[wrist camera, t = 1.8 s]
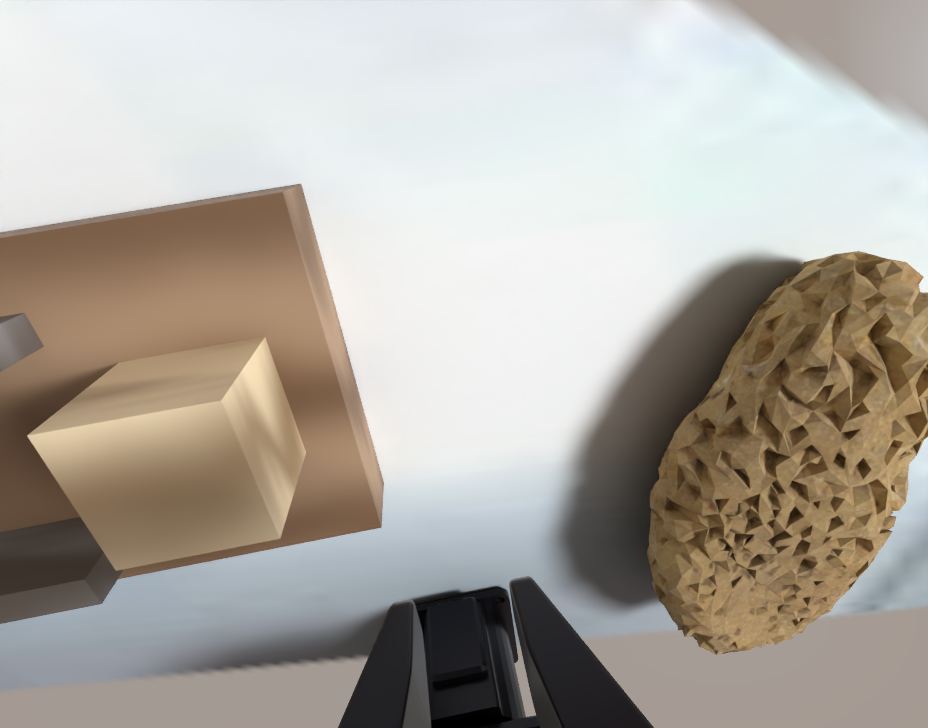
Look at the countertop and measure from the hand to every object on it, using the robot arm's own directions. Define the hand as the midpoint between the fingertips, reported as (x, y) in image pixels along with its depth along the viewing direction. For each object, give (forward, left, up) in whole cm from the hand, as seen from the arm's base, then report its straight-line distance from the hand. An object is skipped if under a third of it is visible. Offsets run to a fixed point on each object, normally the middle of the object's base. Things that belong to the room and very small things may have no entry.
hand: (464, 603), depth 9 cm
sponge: (-9, -15, -13) cm, 22 cm away
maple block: (0, +8, -10) cm, 13 cm away
